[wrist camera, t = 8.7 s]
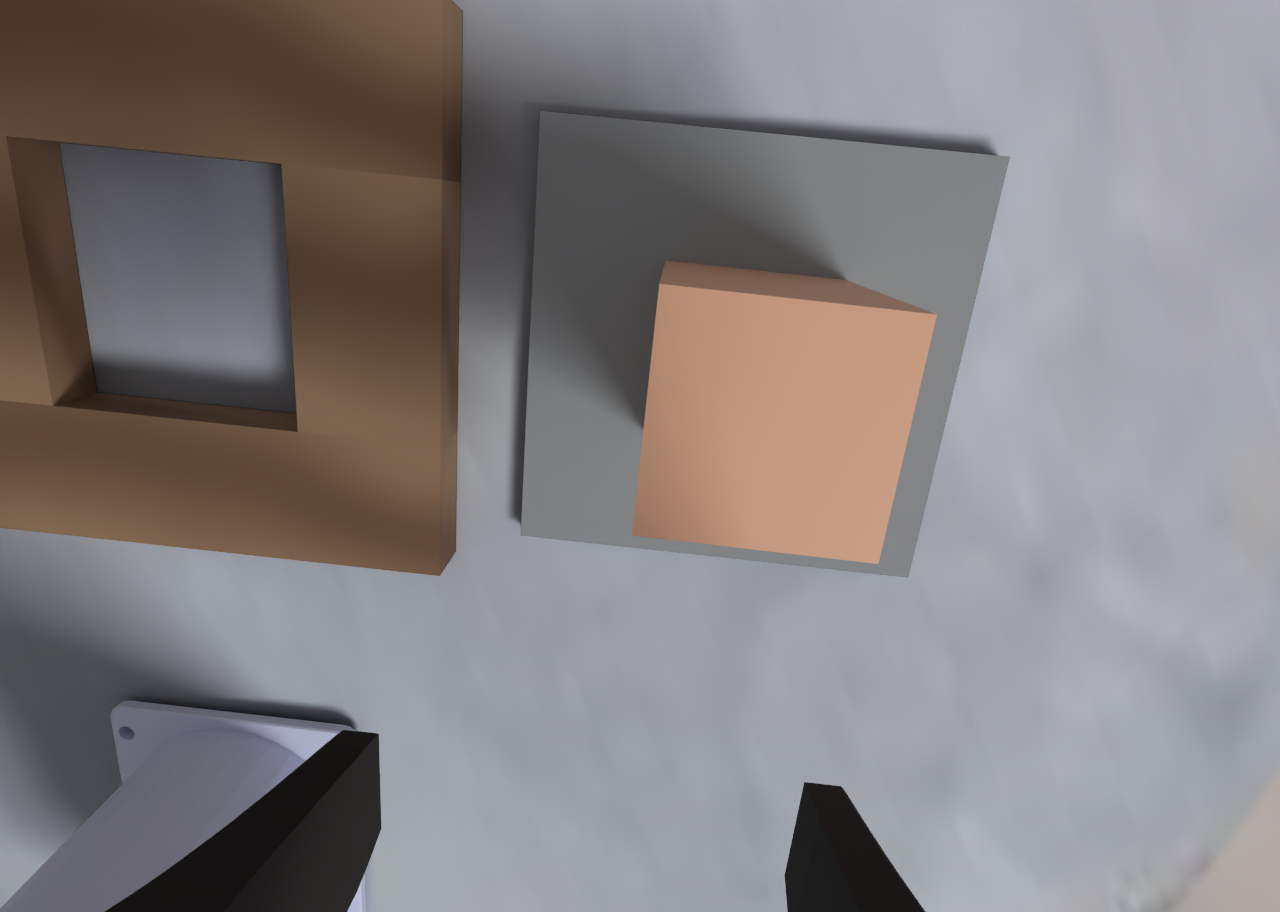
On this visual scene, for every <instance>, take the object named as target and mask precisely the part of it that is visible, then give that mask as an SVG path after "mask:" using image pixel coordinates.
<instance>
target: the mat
mask: <svg viewBox="0 0 1280 912" xmlns="http://www.w3.org/2000/svg"><path fill="white" fill-rule="evenodd" d="M1009 158H1010V157H1007V156H997V155H987V154H976V153H966V152H956V151H946V150H936V149H925V148H915V147H905V146H895V145H885V144H874V143H864V142H854V141H844V140H834V139H823V138H813V137H803V136H793V135H783V134H772V133H762V132H752V131H742V130H732V129H721V128H711V127H701V126H691V125H681V124H670V123H660V122H650V121H640V120H630V119H620V118H609V117H599V116H589V115H579V114H569V113H558V112H548V111H540V121H539V143H538V165H537V187H536V209H535V231H534V253H533V275H532V297H531V319H530V341H529V363H528V385H527V408H526V430H525V452H524V474H523V496H522V518H521V536H530V537H540V538H549V539H558V540H567V541H577V542H586V543H595V544H604V545H613V546H623V547H632V548H641V549H650V550H659V551H669V552H678V553H687V554H696V555H705V556H715V557H724V558H733V559H742V560H751V561H761V562H770V563H779V564H788V565H797V566H807V567H816V568H825V569H834V570H843V571H853V572H862V573H871V574H880V575H889V576H899V577H908V576H909V572H910V568H911V564H912V560H913V556H914V551H915V547H916V543H917V539H918V535H919V531H920V527H921V522H922V518H923V514H924V510H925V506H926V502H927V498H928V493H929V489H930V485H931V481H932V477H933V473H934V469H935V465H936V460H937V456H938V452H939V448H940V444H941V440H942V436H943V431H944V427H945V423H946V419H947V415H948V411H949V407H950V402H951V398H952V394H953V390H954V386H955V382H956V378H957V373H958V369H959V365H960V361H961V357H962V353H963V349H964V345H965V340H966V336H967V332H968V328H969V324H970V320H971V316H972V311H973V307H974V303H975V299H976V295H977V291H978V287H979V282H980V278H981V274H982V270H983V266H984V262H985V258H986V253H987V249H988V245H989V241H990V237H991V233H992V229H993V224H994V220H995V216H996V212H997V208H998V204H999V200H1000V196H1001V191H1002V187H1003V183H1004V179H1005V175H1006V171H1007V167H1008V162H1009ZM666 260H668V261H677V262H686V263H695V264H704V265H713V266H722V267H731V268H740V269H749V270H759V271H768V272H777V273H786V274H795V275H804V276H813V277H822V278H831V279H840V280H848V281H850V282H853V283H856V284H858V285H861V286H863V287H866V288H869V289H871V290H874V291H877V292H879V293H882V294H884V295H887V296H890V297H892V298H895V299H898V300H900V301H903V302H906V303H908V304H911V305H913V306H916V307H919V308H921V309H924V310H927V311H929V312H932V313H934V314H937V317H936V321H935V325H934V330H933V334H932V338H931V342H930V347H929V351H928V355H927V359H926V364H925V368H924V372H923V377H922V381H921V385H920V389H919V394H918V398H917V402H916V406H915V411H914V415H913V419H912V423H911V428H910V432H909V436H908V440H907V445H906V449H905V453H904V457H903V462H902V466H901V470H900V475H899V479H898V483H897V487H896V492H895V496H894V500H893V504H892V509H891V513H890V517H889V521H888V526H887V530H886V534H885V538H884V543H883V547H882V551H881V555H880V560H879V564H873V563H865V562H856V561H848V560H839V559H830V558H822V557H813V556H804V555H796V554H787V553H779V552H770V551H761V550H753V549H744V548H736V547H727V546H718V545H710V544H701V543H692V542H684V541H675V540H667V539H658V538H649V537H641V536H632V529H633V520H634V511H635V501H636V492H637V483H638V474H639V465H640V456H641V447H642V437H643V428H644V419H645V410H646V401H647V392H648V383H649V374H650V364H651V355H652V346H653V337H654V328H655V319H656V310H657V301H658V291H659V283H660V280H661V276H662V272H663V269H664V265H665V262H666Z"/></svg>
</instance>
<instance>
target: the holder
mask: <svg viewBox="0 0 1280 912" xmlns="http://www.w3.org/2000/svg"><path fill="white" fill-rule="evenodd" d="M462 51H463V11H462V10H461V9H460V8H459V7H458V6H457V5H456V4H455V3H454V2H453V1H452V0H0V528H9V529H18V530H27V531H36V532H46V533H55V534H64V535H73V536H82V537H91V538H100V539H109V540H118V541H127V542H137V543H146V544H155V545H164V546H173V547H182V548H191V549H200V550H209V551H219V552H228V553H237V554H246V555H255V556H264V557H273V558H282V559H291V560H300V561H310V562H319V563H328V564H337V565H346V566H355V567H364V568H373V569H382V570H391V571H401V572H410V573H419V574H428V575H437V576H440V575H441V573H442V572H443V570H444V569H445V567H446V566H447V564H448V563H449V561H450V560H451V558H452V557H453V555H454V554H455V552H456V498H457V423H458V349H459V275H460V200H461V126H462ZM59 142H60V143H70V144H80V145H90V146H100V147H110V148H120V149H130V150H140V151H150V152H160V153H170V154H180V155H190V156H200V157H210V158H220V159H230V160H240V161H250V162H260V163H270V164H280V165H281V167H282V183H283V199H284V216H285V232H286V248H287V264H288V281H289V297H290V313H291V329H292V346H293V362H294V378H295V394H296V411H297V414H295V413H286V412H276V411H267V410H258V409H248V408H239V407H229V406H220V405H210V404H201V403H192V402H182V401H173V400H163V399H154V398H145V397H135V396H126V395H116V394H107V393H98V392H97V390H96V383H95V377H94V370H93V364H92V357H91V351H90V344H89V337H88V331H87V324H86V318H85V311H84V305H83V298H82V292H81V285H80V279H79V272H78V266H77V259H76V253H75V246H74V239H73V233H72V226H71V220H70V213H69V207H68V200H67V194H66V187H65V181H64V174H63V168H62V161H61V154H60V148H59Z"/></svg>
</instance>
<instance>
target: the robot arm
mask: <svg viewBox="0 0 1280 912" xmlns="http://www.w3.org/2000/svg"><path fill="white" fill-rule="evenodd" d="M111 723H112V729H113V735H114V741H115V747H116V752H117V758H118V764H119V770H120V776H121V781H122V785H121V786H120V787H119V788H118V789H117V790H116V791H115V792H114V793H113V794H112V795H111V796H110V797H109V798H108V799H107V800H106V801H105V802H104V803H103V804H102V805H101V806H100V807H99V808H98V809H97V810H96V811H95V812H94V813H93V814H92V815H91V816H90V817H89V818H88V819H87V820H86V821H85V822H84V823H83V824H82V825H81V826H80V827H79V828H78V830H77V831H76V832H75V833H74V834H73V835H72V836H71V837H70V838H69V839H68V840H67V841H66V842H65V843H64V844H63V845H62V846H61V847H60V848H59V849H58V850H57V851H56V852H55V853H54V854H53V855H52V856H51V857H50V858H49V859H48V860H47V861H46V862H45V863H44V864H43V865H42V866H41V867H40V868H39V869H38V870H37V871H36V872H35V873H34V874H33V875H32V876H31V878H30V879H29V880H28V881H27V882H26V883H25V884H24V885H23V886H22V887H21V888H20V889H19V890H18V891H17V892H16V893H15V894H14V895H13V896H12V897H11V898H10V899H9V900H8V901H7V902H6V903H5V904H4V905H3V906H2V907H1V908H0V912H366V900H365V874H364V873H365V870H366V868H367V865H368V863H369V860H370V857H371V854H372V852H373V849H374V846H375V844H376V841H377V838H378V836H379V833H380V830H381V805H380V769H379V734H376V733H367V732H359V731H355V730H354V729H353V728H351V727H350V726H346V725H341V724H332V723H323V722H315V721H306V720H297V719H288V718H279V717H271V716H262V715H253V714H244V713H235V712H227V711H218V710H209V709H200V708H192V707H183V706H174V705H165V704H156V703H148V702H139V701H123V702H121V703H120V704H119V705H118V706H116V707H115V708H114V709H113V710H112V712H111ZM130 728H131V729H130ZM785 883H786V895H787V907H788V912H925V911H924V909H923V908H922V906H921V905H920V904H919V902H918V901H917V899H916V898H915V897H914V895H913V894H912V892H911V891H910V889H909V888H908V887H907V885H906V884H905V882H904V881H903V880H902V878H901V877H900V875H899V874H898V872H897V871H896V869H895V868H894V866H893V865H892V863H891V862H890V861H889V859H888V857H887V856H886V854H885V853H884V851H883V850H882V848H881V847H880V845H879V844H878V842H877V841H876V839H875V838H874V836H873V835H872V833H871V831H870V830H869V828H868V827H867V825H866V824H865V822H864V821H863V819H862V817H861V816H860V814H859V813H858V811H857V809H856V808H855V806H854V805H853V803H852V801H851V800H850V798H849V797H848V795H847V794H846V792H845V791H844V790H843V788H842V787H841V786H832V785H824V784H815V783H806V782H804V787H803V792H802V796H801V801H800V806H799V811H798V815H797V820H796V825H795V829H794V834H793V839H792V844H791V848H790V853H789V858H788V863H787V867H786V872H785Z"/></svg>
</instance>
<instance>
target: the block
mask: <svg viewBox="0 0 1280 912" xmlns="http://www.w3.org/2000/svg"><path fill="white" fill-rule="evenodd" d="M936 317H937V314H934V313H932V312H929V311H927V310H924V309H921V308H919V307H916V306H913V305H911V304H908V303H906V302H903V301H900V300H898V299H895V298H892V297H890V296H887V295H884V294H882V293H879V292H877V291H874V290H871V289H869V288H866V287H863V286H861V285H858V284H856V283H853V282H850V281H848V280H840V279H831V278H822V277H813V276H804V275H795V274H786V273H777V272H768V271H759V270H749V269H740V268H731V267H722V266H713V265H704V264H695V263H686V262H677V261H668V260H666V262H665V265H664V269H663V272H662V276H661V280H660V283H659V291H658V301H657V310H656V319H655V328H654V337H653V346H652V355H651V364H650V374H649V383H648V392H647V401H646V410H645V419H644V428H643V437H642V447H641V456H640V465H639V474H638V483H637V492H636V501H635V511H634V520H633V529H632V536H641V537H649V538H658V539H667V540H675V541H684V542H692V543H701V544H710V545H718V546H727V547H736V548H744V549H753V550H761V551H770V552H779V553H787V554H796V555H804V556H813V557H822V558H830V559H839V560H848V561H856V562H865V563H873V564H879V560H880V555H881V551H882V547H883V543H884V538H885V534H886V530H887V526H888V521H889V517H890V513H891V509H892V504H893V500H894V496H895V492H896V487H897V483H898V479H899V475H900V470H901V466H902V462H903V457H904V453H905V449H906V445H907V440H908V436H909V432H910V428H911V423H912V419H913V415H914V411H915V406H916V402H917V398H918V394H919V389H920V385H921V381H922V377H923V372H924V368H925V364H926V359H927V355H928V351H929V347H930V342H931V338H932V334H933V330H934V325H935V321H936Z"/></svg>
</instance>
